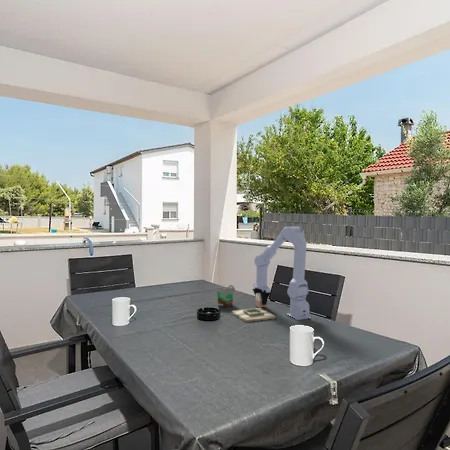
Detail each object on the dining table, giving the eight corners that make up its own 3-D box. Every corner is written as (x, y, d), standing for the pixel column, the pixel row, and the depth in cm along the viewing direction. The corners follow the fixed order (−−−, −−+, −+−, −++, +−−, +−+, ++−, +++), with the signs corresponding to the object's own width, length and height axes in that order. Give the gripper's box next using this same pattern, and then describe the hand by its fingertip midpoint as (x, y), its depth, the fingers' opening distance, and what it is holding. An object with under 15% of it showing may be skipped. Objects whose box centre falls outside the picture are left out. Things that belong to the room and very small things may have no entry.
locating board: (276, 318, 171) (276, 313, 171) (246, 322, 165) (246, 317, 165) (260, 310, 186) (260, 305, 186) (231, 313, 179) (231, 308, 179)
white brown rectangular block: (266, 307, 192) (267, 294, 191) (259, 308, 190) (259, 295, 190) (262, 305, 196) (263, 292, 195) (255, 306, 194) (255, 293, 194)
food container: (225, 309, 187) (225, 289, 187) (216, 307, 191) (216, 288, 190) (239, 304, 197) (239, 286, 196) (230, 302, 201) (230, 284, 200)
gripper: (248, 275, 197) (248, 300, 198) (261, 280, 184) (261, 307, 184) (260, 275, 200) (259, 299, 201) (273, 280, 187) (273, 305, 187)
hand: (261, 303), depth 193 cm, fingers open, 6 cm apart
